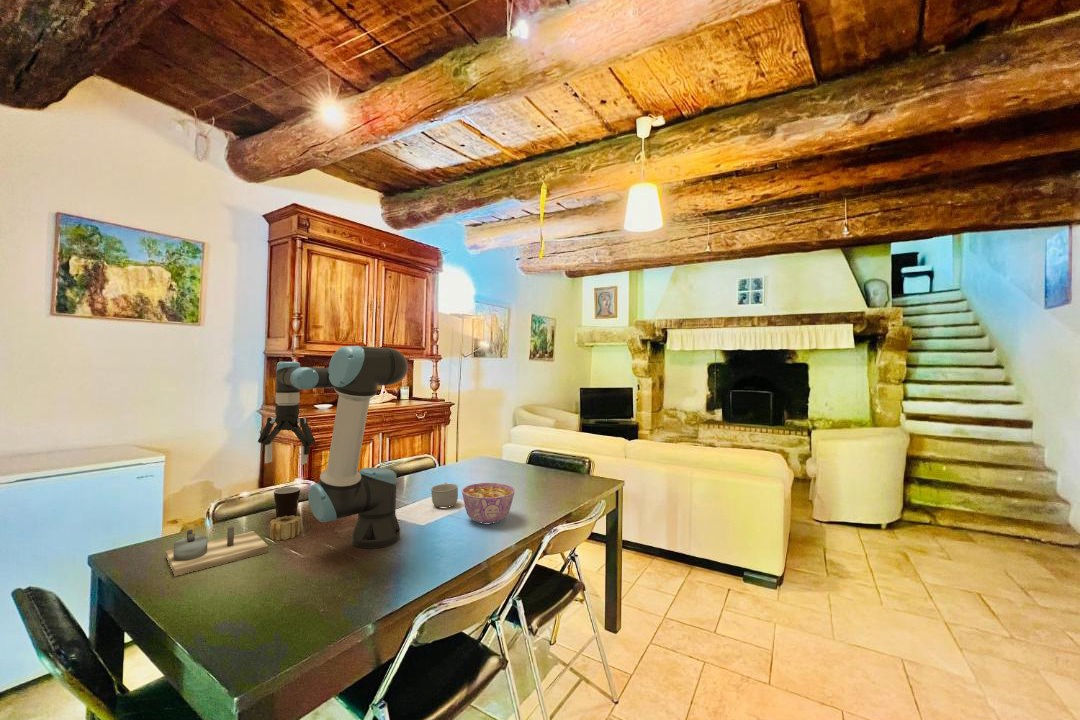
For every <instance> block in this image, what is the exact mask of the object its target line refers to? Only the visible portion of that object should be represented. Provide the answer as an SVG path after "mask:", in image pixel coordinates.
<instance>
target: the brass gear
mask: <svg viewBox="0 0 1080 720" xmlns="http://www.w3.org/2000/svg"><path fill="white" fill-rule="evenodd" d="M301 518H302V517H300V516H299V515H296V516H294V515H291V516H283V517H278V518H276V517H275V518H274V519H271V520H270V522H269V539H270V540H273V541H274V540H275V541H281V540H283V541H286V540H288V539H293V538H295V537H296V536H297V537H298V536H300V534H301V521H302V520H301Z"/></svg>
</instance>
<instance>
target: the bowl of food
mask: <svg viewBox="0 0 1080 720" xmlns="http://www.w3.org/2000/svg"><path fill="white" fill-rule="evenodd" d="M515 491H516V489H515V488H514V487H513V486H511V485H508V484H505V483H500V482H499V483H498V482H479V483H473V484H469V485H466V486H465V487H463V488H462V489H461V493H462V499H463V503H464V504H463V505H464V509H465V512H466V514H467V516H468V518H470V519H472V520H473V521H475V522H477V523H478V522H482V523H493V522H497V521H498V522H500V521H502V520H503V519H505V518H506V517H507V516H508V515H509V513H510V511H511V506H512V502H513V499H514V495H515ZM498 522H497V523H498Z"/></svg>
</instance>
